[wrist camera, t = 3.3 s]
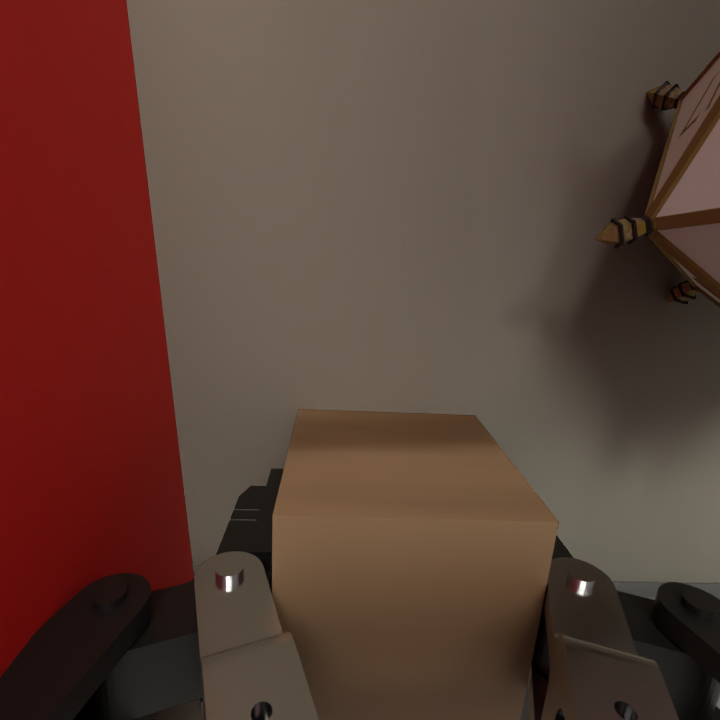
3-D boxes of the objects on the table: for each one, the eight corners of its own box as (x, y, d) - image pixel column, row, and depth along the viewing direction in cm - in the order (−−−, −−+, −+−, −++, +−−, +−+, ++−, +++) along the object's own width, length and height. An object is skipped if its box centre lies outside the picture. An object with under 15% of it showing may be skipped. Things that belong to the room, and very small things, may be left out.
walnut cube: (298, 408, 12) (272, 515, 8) (475, 415, 13) (558, 522, 8) (294, 561, 14) (271, 736, 9) (455, 564, 14) (517, 735, 9)
